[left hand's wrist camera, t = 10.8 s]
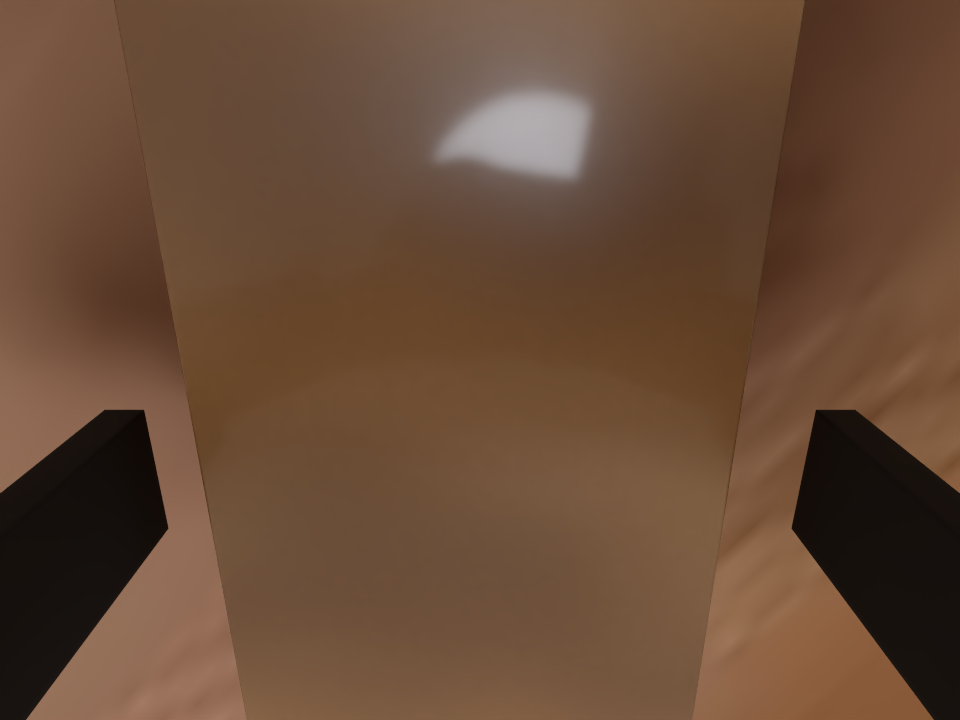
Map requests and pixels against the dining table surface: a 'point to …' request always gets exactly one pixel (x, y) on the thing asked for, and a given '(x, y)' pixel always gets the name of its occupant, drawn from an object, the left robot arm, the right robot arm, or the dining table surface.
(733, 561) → the dining table surface
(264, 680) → the slab
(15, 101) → the dining table surface
